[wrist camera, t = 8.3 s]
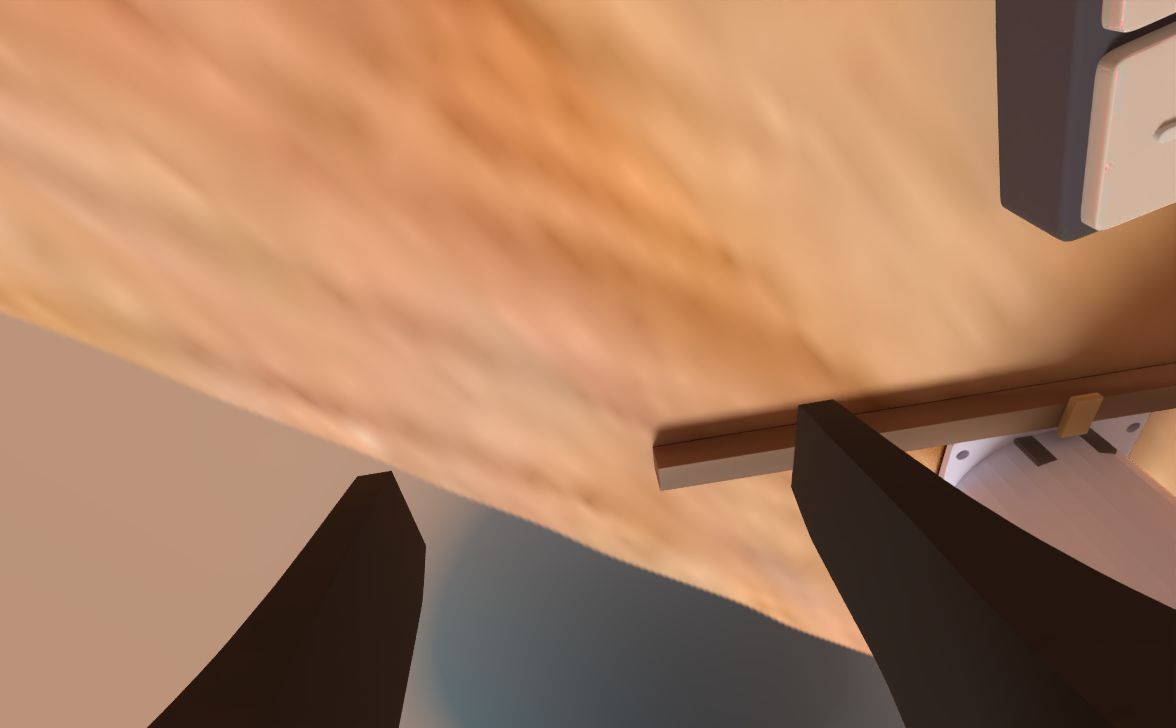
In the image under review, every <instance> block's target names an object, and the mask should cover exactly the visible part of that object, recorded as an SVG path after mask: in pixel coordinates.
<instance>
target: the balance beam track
mask: <svg viewBox="0 0 1176 728" xmlns="http://www.w3.org/2000/svg"><path fill="white" fill-rule="evenodd" d="M1173 408H1176V363H1172V364H1166V365H1160V366H1154V367H1147V368H1141V369H1135V370H1129V371H1123V372H1116V373H1110V374H1104V375H1098V376H1092V377H1085V378H1079V379H1073V380H1067V381H1061V382H1054V383H1048V384H1042V385H1036V386H1030V387H1023V388H1017V389H1011V390H1005V391H999V392H992V393H986V394H980V395H974V396H968V397H962V398H955V399H949V400H943V401H937V402H931V403H924V404H918V405H912V406H906V407H900V408H893V409H887V410H881V411H875V412H869V413H862V414H856V415H855V416H857V417H858V418H859V419H861V420H862V421H863V422H865V423H866V424H867V425H869V426H870V427H871V428H873V429H874V430H875V431H877V432H878V433H879V434H881V435H882V436H884V437H885V438H886V439H888V440H889V441H890V442H892V443H893V444H894V445H896V446H897V447H899V448H900V449H901V450H903V451H904V452H906V451H912V450H919V449H925V448H931V447H937V446H943V445H950V444H956V443H962V442H968V441H975V440H981V439H987V438H993V437H999V436H1006V435H1012V434H1018V433H1024V432H1030V431H1037V430H1043V429H1049V428H1055V427H1058V428H1057V430H1056V432H1055V433H1056V434H1057V435H1058V436H1059V437H1060V438H1064V437H1071V436H1077V435H1079V436H1080V437H1082V438H1083V439H1084V440H1085V441H1086V442H1087V443H1089V444H1090V445H1091V446H1092V447H1093V448H1094V449H1096V450H1097V451H1098V452H1099V453H1109V454H1116V452H1117V449H1116V448H1115V447H1113V446H1112V445H1111V444H1110V443H1108V442H1107V441H1106V440H1105V439H1104V438H1102V437H1101V436H1100V435H1099V434H1098V433H1096V432H1095V431H1094V430H1093V429H1092V428H1090V426H1091V424H1092V422H1093V421H1099V420H1105V419H1111V418H1117V417H1124V416H1130V415H1136V414H1142V413H1148V412H1155V411H1161V410H1167V409H1173ZM796 427H797V424H794V425H788V426H782V427H776V428H770V429H763V430H757V431H751V432H745V433H739V434H732V435H726V436H720V437H714V438H708V439H701V440H695V441H689V442H683V443H677V444H670V445H664V446H658V447H653V455H654V465H655V471H656V475H657V479H658V483H659V487H660V491H664V490H670V489H676V488H683V487H689V486H695V485H701V484H707V483H714V482H720V481H726V480H732V479H738V478H745V477H751V476H757V475H763V474H770V473H776V472H782V471H788V470H793V461H794V450H795V439H796ZM1013 443H1014V444H1015V445H1016V446H1017V447H1018V448H1019V449H1020V450H1021V451H1022V452H1023V453H1024V454H1025V455H1026V456H1027V457H1028V458H1029V459H1030V460H1031V461H1032V462H1033V463H1034V464H1035V465H1037V466H1038V467H1039V466H1041V465H1044V464H1047V463H1049V462H1052V461H1055V460H1058V459H1057V458H1056V457H1055V456H1054V455H1053V454H1051V453H1050V452H1049V451H1048V450H1047V449H1046V448H1045V447H1044V446H1043V445H1042V444H1041V443H1040V442H1039V441H1038V440H1036V439H1035V438H1034V437H1033V436H1032V435H1031V436H1025V437H1019V438H1015V439H1014V442H1013Z"/></svg>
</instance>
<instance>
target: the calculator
mask: <svg viewBox="0 0 1176 728" xmlns="http://www.w3.org/2000/svg"><path fill="white" fill-rule="evenodd" d="M996 50H997V90H998V129H999V165H1000V198H1001V204H1002V206H1003V207H1004V208H1006V209H1008V210H1009V211H1011V212H1013V213H1014V214H1016V215H1018V216H1019V217H1021V218H1023V219H1025V220H1026V221H1028V222H1030V223H1031V224H1033V225H1035V226H1037V227H1038V228H1040V229H1042V230H1043V231H1045V232H1047V233H1049V234H1050V235H1052V236H1054V237H1055V238H1057V239H1059V240H1061V241H1073V240H1076V239H1079V238H1082V237H1084V236H1087V235H1089V234H1092V233H1094V232H1097V231H1099V230H1105V229H1109V228H1112V227H1114V226H1117V225H1119V224H1122V223H1124V222H1127V221H1130V220H1132V219H1135V218H1137V217H1140V216H1142V215H1145V214H1147V213H1150V212H1152V211H1155V210H1157V209H1160V208H1162V207H1165V206H1167V205H1170V204H1172V203H1175V202H1176V0H996Z"/></svg>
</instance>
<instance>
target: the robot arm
mask: <svg viewBox="0 0 1176 728" xmlns="http://www.w3.org/2000/svg"><path fill="white" fill-rule="evenodd" d="M1149 416H1150V412H1148V413H1142V414H1136V415H1130V416H1124V417H1117V418H1111V419H1105V420H1099V421H1093V422H1092V424H1091V426H1090V428H1092V429H1093V430H1094V431H1095V432H1096V433H1098V434H1099V435H1100V436H1101V437H1102V438H1104V439H1105V440H1106V441H1107V442H1108V443H1110V444H1111V445H1112V446H1113V447H1115V448H1116V449H1117V452H1116V454H1109V453H1099V452H1098V451H1097V450H1096V449H1094V448H1093V447H1092V446H1091V445H1090V444H1089V443H1087V442H1086V441H1085V440H1084V439H1083V438H1082V437H1080V436H1079V435H1077V436H1071V437H1064V438H1060V437H1059V436H1058V435H1057V434H1056V433H1055V432H1056V430H1057V428H1058V427H1055V428H1049V429H1043V430H1037V431H1030V432H1024V433H1018V434H1012V435H1006V436H999V437H993V438H987V439H981V440H975V441H968V442H962V443H956V444H950V445H947V448H946V452H945V455H944V459H943V462H942V466H941V469H940V472H939V476H938V475H937V474H935V473H934V472H933V471H931V470H930V469H928V468H927V467H925V466H924V465H922V464H921V463H920V462H918V461H917V460H915V459H914V458H913V457H911V456H910V455H908V454H907V453H906V452H904V451H903V450H901V449H900V448H899V447H897V446H896V445H894V444H893V443H892V442H890V441H889V440H888V439H886V438H885V437H884V436H882V435H881V434H879V433H878V432H877V431H875V430H874V429H873V428H871V427H870V426H869V425H867V424H866V423H865V422H863V421H862V420H861V419H859V418H858V417H857V416H855V415H854V414H852V413H851V412H850V411H848V410H847V409H846V408H844V407H843V406H842V405H840V404H839V403H837V402H836V401H835V400H827V401H821V402H815V403H809V404H802V405H798V416H797V427H796V439H795V450H794V461H793V473H792V484H791V488H792V490H793V493H794V496H795V498H796V501H797V504H798V506H799V509H800V512H801V514H802V517H803V520H804V522H805V525H806V527H807V530H808V532H809V535H810V537H811V539H812V541H813V543H814V545H815V547H816V549H817V551H818V553H819V555H820V557H821V559H822V561H823V562H824V564H825V566H826V568H827V570H828V572H829V574H830V576H831V578H832V580H833V581H834V583H835V585H836V587H837V589H838V591H839V593H840V594H841V596H842V598H843V600H844V602H845V604H846V606H847V608H848V609H849V611H850V613H851V615H852V617H853V619H854V621H855V622H856V624H857V626H858V628H859V630H860V632H861V634H862V635H863V637H864V639H865V641H866V643H867V645H868V647H869V649H870V650H871V652H872V654H873V656H874V658H875V660H876V662H877V664H878V666H879V668H880V670H881V672H882V674H883V676H884V678H885V680H886V682H887V685H888V686H889V689H890V691H891V694H892V696H893V698H894V701H895V703H896V705H897V708H898V710H899V713H900V715H901V717H902V720H903V722H904V724H905V727H906V728H1176V497H1175V496H1174V495H1173V494H1171V493H1170V492H1169V491H1168V490H1166V489H1165V488H1164V487H1163V486H1162V485H1160V484H1159V483H1158V482H1157V481H1156V480H1154V479H1153V478H1152V477H1151V476H1150V475H1148V474H1147V473H1146V472H1145V471H1143V470H1142V469H1141V468H1140V467H1139V466H1137V465H1136V464H1135V463H1134V462H1133V461H1131V460H1130V459H1129V458H1128V455H1129V453H1130V452H1131V450H1132V448H1133V446H1134V444H1135V442H1136V440H1137V438H1138V437H1139V435H1140V433H1141V431H1142V429H1143V427H1144V425H1145V424H1146V422H1147V420H1148V418H1149ZM1031 435H1032V436H1033V437H1034V438H1035V439H1036V440H1038V441H1039V442H1040V443H1041V444H1042V445H1043V446H1044V447H1045V448H1046V449H1047V450H1048V451H1049V452H1050V453H1051V454H1053V455H1054V456H1055V457H1056V458H1057V459H1058V460H1055V461H1052V462H1049V463H1047V464H1044V465H1041V466H1039V467H1038V466H1037V465H1035V464H1034V463H1033V462H1032V461H1031V460H1030V459H1029V458H1028V457H1027V456H1026V455H1025V454H1024V453H1023V452H1022V451H1021V450H1020V449H1019V448H1018V447H1017V446H1016V445H1015V444H1014V443H1013V442H1014V439H1015V438H1019V437H1025V436H1031ZM425 553H426V545H425V543H424V540H423V538H422V536H421V534H420V532H419V530H418V527H417V525H416V523H415V521H414V519H413V517H412V514H411V512H410V510H409V508H408V506H407V503H406V501H405V499H404V497H403V495H402V493H401V490H400V488H399V486H398V484H397V482H396V480H395V477H394V475H393V473H392V471H388V472H382V473H376V474H369V475H363V476H358V477H357V478H356V479H355V480H354V482H353V483H352V484H351V485H350V487H349V488H348V489H347V491H346V492H345V493H344V495H343V496H342V498H341V499H340V500H339V501H338V503H337V504H336V505H335V507H334V508H333V510H332V511H331V512H330V513H329V515H328V516H327V518H326V519H325V520H324V522H323V523H322V524H321V526H320V527H319V528H318V530H317V531H316V532H315V534H314V535H313V536H312V538H311V539H310V540H309V542H308V543H307V544H306V546H305V547H304V548H303V550H302V551H301V552H300V553H299V555H298V556H297V557H296V559H295V560H294V561H293V563H292V564H291V565H290V566H289V568H288V569H287V570H286V572H285V573H284V574H283V576H282V577H281V578H280V579H279V581H278V582H277V583H276V585H275V586H274V587H273V588H272V590H271V591H270V592H269V593H268V594H267V596H266V597H265V598H264V599H263V601H262V602H261V603H260V604H259V605H258V606H257V608H256V609H255V610H254V611H253V612H252V614H251V615H250V616H249V617H248V618H247V620H246V621H245V622H244V623H243V624H242V626H241V627H240V628H239V629H238V630H237V632H236V633H235V634H234V635H233V637H232V638H231V639H230V640H229V641H228V642H227V643H226V645H225V646H224V647H223V648H222V649H221V650H220V651H219V652H218V654H217V655H216V656H215V657H214V658H213V659H212V660H211V661H210V662H209V664H208V665H207V666H206V667H205V668H204V669H203V670H202V671H201V672H200V673H199V675H198V676H197V677H196V678H195V679H194V680H193V681H192V682H191V683H190V684H189V685H188V686H187V687H186V688H185V690H183V691H182V693H180V695H179V696H178V697H177V698H176V699H175V700H174V701H173V702H172V703H171V704H170V705H169V706H168V707H167V708H166V709H165V710H164V711H163V712H162V713H161V714H160V715H159V716H158V717H157V718H156V719H155V720H154V721H153V722H152V723H151V724H150V725H149V726H148V727H147V728H399V724H400V718H401V713H402V708H403V703H404V697H405V692H406V687H407V682H408V676H409V671H410V666H411V660H412V656H413V650H414V645H415V640H416V634H417V629H418V623H419V618H420V612H421V607H422V600H423V587H424V572H425Z"/></svg>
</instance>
